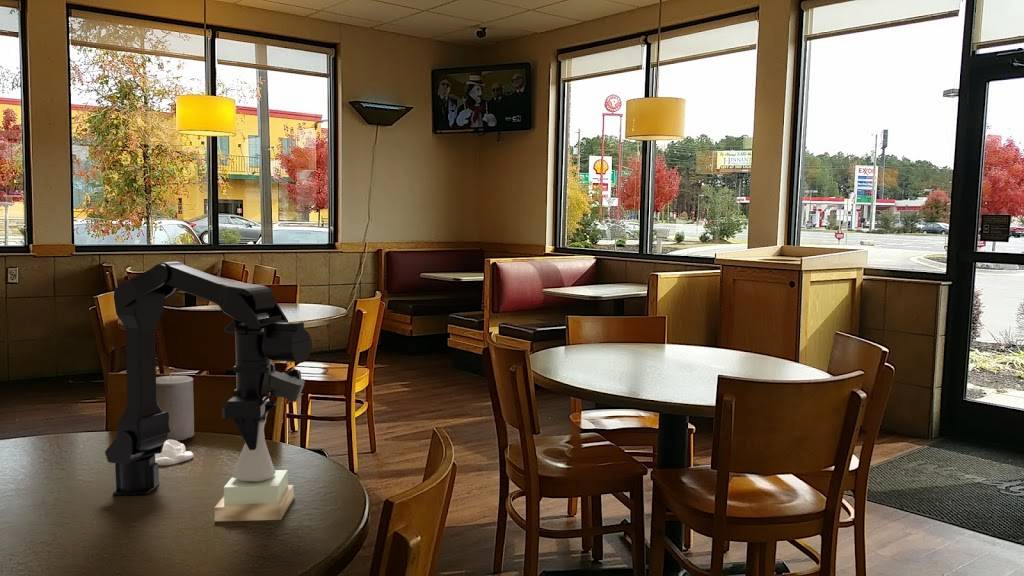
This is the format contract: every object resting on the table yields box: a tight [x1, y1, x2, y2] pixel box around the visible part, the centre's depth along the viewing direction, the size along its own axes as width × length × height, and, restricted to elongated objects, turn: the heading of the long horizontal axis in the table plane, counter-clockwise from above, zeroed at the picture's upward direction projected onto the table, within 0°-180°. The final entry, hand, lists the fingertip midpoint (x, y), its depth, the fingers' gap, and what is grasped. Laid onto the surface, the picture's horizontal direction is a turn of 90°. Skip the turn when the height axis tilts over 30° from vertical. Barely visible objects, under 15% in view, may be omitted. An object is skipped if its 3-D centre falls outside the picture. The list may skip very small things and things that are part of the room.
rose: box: [155, 440, 194, 466], centre depth 173 cm, size 10×4×10 cm
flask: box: [230, 419, 276, 481], centre depth 143 cm, size 7×7×10 cm
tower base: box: [214, 484, 295, 522], centre depth 143 cm, size 11×11×3 cm
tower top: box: [223, 469, 289, 505], centre depth 143 cm, size 9×9×3 cm
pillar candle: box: [156, 373, 195, 442], centre depth 191 cm, size 10×10×15 cm
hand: (255, 446), depth 143 cm, fingers closed on flask, 3 cm apart
